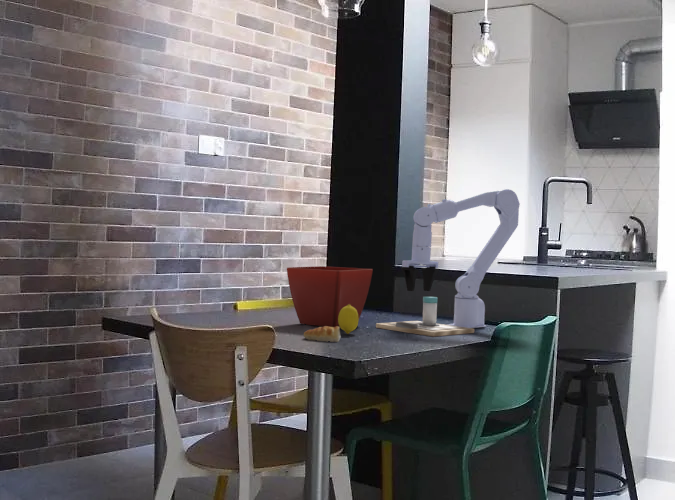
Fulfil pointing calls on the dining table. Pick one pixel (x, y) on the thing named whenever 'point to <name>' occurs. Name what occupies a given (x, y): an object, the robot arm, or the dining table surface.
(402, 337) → the dining table surface
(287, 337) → the dining table surface
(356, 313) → the lemon
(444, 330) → the clipboard
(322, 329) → the pastry
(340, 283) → the plant pot
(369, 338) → the dining table surface
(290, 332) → the dining table surface
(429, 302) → the white jar teal lid
